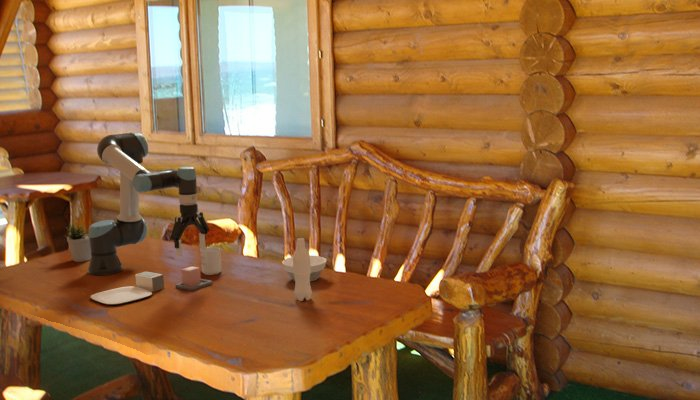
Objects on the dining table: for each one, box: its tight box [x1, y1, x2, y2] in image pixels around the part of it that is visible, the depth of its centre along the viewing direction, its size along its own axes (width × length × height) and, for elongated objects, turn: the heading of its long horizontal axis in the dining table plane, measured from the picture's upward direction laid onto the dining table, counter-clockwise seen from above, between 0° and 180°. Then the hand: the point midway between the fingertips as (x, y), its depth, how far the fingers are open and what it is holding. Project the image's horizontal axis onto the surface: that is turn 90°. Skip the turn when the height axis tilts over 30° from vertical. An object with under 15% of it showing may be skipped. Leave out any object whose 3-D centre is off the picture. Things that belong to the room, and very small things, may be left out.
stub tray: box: [175, 278, 213, 292], centre depth 354 cm, size 10×12×2 cm
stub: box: [181, 266, 202, 287], centre depth 355 cm, size 5×6×7 cm
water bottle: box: [292, 237, 313, 302], centre depth 327 cm, size 7×7×25 cm
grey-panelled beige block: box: [135, 271, 165, 293], centre depth 353 cm, size 11×6×6 cm, turn 53°
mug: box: [199, 246, 222, 276], centre depth 376 cm, size 12×9×11 cm
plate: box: [90, 285, 153, 306], centre depth 341 cm, size 22×22×2 cm
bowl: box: [281, 255, 328, 283], centre depth 359 cm, size 20×20×8 cm
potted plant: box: [64, 222, 91, 263], centre depth 407 cm, size 13×14×20 cm
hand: (191, 251), depth 352 cm, fingers open, 13 cm apart
